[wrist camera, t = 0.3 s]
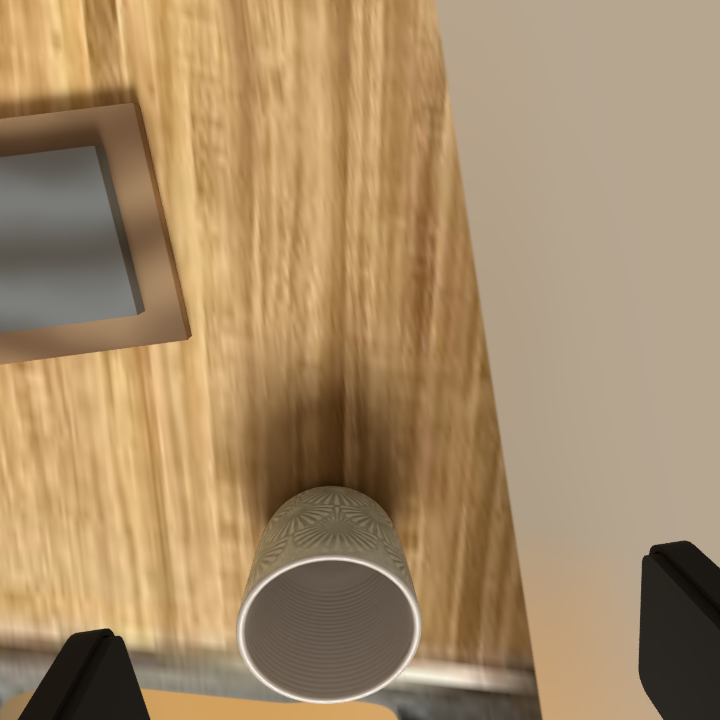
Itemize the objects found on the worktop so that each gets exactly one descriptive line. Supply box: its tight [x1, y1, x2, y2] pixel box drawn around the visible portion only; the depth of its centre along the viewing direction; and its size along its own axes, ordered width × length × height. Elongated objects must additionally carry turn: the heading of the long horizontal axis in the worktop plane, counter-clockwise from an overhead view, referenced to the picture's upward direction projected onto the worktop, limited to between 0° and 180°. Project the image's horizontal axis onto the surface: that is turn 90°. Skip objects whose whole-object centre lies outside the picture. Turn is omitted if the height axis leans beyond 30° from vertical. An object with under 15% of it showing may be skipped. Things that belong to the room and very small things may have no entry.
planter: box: [236, 486, 422, 704], centre depth 38 cm, size 12×12×11 cm
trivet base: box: [0, 103, 192, 365], centre depth 34 cm, size 16×16×3 cm
